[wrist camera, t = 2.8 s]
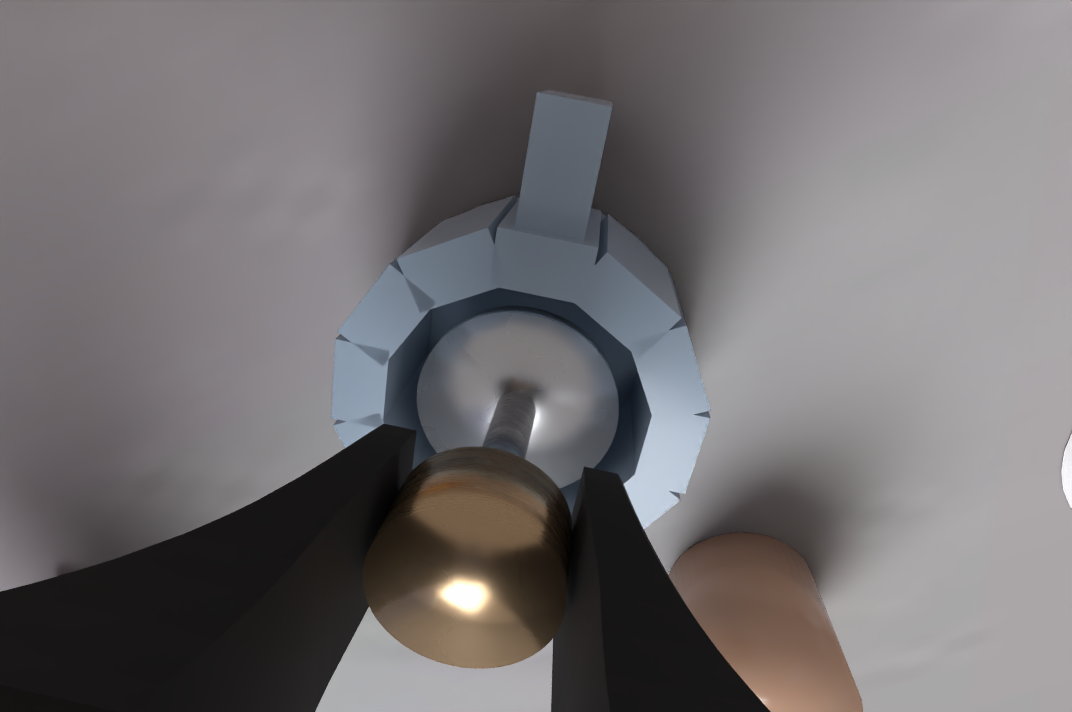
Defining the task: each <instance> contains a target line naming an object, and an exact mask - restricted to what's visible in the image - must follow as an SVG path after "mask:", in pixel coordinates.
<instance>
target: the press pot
mask: <svg viewBox="0 0 1072 712" xmlns="http://www.w3.org/2000/svg"><path fill="white" fill-rule="evenodd" d="M612 108H613V103H612V101H607V100H602V99H596V98H591V97H586V96H581V95H576V94H571V93H566V92H561V91H556V90H546V91H540V92H537V94H536V100H535V106H534V113H533V119H532V125H531V131H530V137H529V143H528V149H527V155H526V161H525V167H524V173H523V179H522V185H521V191H520V197H516V196H515V195H513V196H510V197H508V198H505V199H501V200H497V201H494V202H490V203H487V204H483V205H480V206H478V207H476V208H473V209H471V210H469V211H466V212H464V213H462V214H460V215H457V216H454V217H451V218H448V219H445V220H443V221H441V222H440V223H439V224H438V225H436V226H435V227H433V228H432V229H431V230H430V231H429V232H427V233H426V234H425V235H424V236H423V237H421V238H420V239H419V240H418V241H417V242H415V243H414V244H413V245H412V246H411V247H409V248H408V249H407V250H406V251H405V252H403V253H402V254H401V255H400V256H399V257H397V258H396V259H395V260H394V261H393V262H391V263H390V264H389V265H388V267H387V268H386V269H385V271H384V272H383V273H382V274H381V276H380V277H379V278H378V280H377V281H376V282H375V284H374V285H373V286H372V288H371V289H370V290H369V291H368V293H367V294H366V295H365V297H364V298H363V299H362V301H361V302H360V303H359V305H358V306H357V307H356V308H355V310H354V311H353V312H352V314H351V315H350V316H349V318H348V319H347V320H346V322H345V323H344V324H343V325H342V327H341V328H340V329H339V331H338V332H339V333H340V335H339V336H338V337H337V338H336V339H335V351H334V371H333V392H332V412H331V418H332V419H337V421H336V422H335V424H334V425H333V427H334V428H335V430H336V432H337V434H338V436H339V438H340V440H341V442H342V443H343V445H344V447H345V448H346V447H348V446H349V445H351V444H352V443H354V442H355V441H357V440H359V439H360V438H362V437H363V436H365V435H366V434H368V433H369V432H371V431H372V430H374V429H376V428H377V427H379V426H380V425H382V424H389V425H393V426H398V427H403V428H407V429H412V430H417V432H416V441H415V450H414V459H413V467H412V470H413V469H414V468H415V467H417V466H418V465H419V464H420V463H421V462H423V461H424V460H426V459H427V458H429V457H431V456H433V455H435V454H437V452H436V451H435V450H434V448H433V447H432V445H431V444H430V442H429V440H428V439H427V437H426V435H425V433H424V430H423V428H422V425H421V422H420V418H419V414H418V409H417V386H418V381H419V376H420V373H421V371H422V368H423V365H424V363H425V361H426V360H427V358H428V356H429V354H430V353H431V351H432V350H433V348H434V347H435V345H436V344H437V343H438V341H439V340H440V339H441V337H442V336H443V335H444V334H445V333H446V332H447V331H448V330H449V329H450V328H452V327H453V326H454V325H456V324H457V323H458V322H460V321H461V320H463V319H465V318H467V317H468V316H470V315H473V314H475V313H478V312H480V311H483V310H487V309H491V308H495V307H504V306H525V307H532V308H538V309H541V310H545V311H549V312H552V313H554V314H556V315H559V316H561V317H563V318H565V319H567V320H569V321H571V322H572V323H574V324H575V325H577V326H578V327H580V328H581V329H582V330H584V331H585V332H586V333H587V334H588V335H589V336H590V337H591V338H592V339H593V340H594V341H595V342H596V343H597V344H598V346H599V347H600V348H601V349H602V351H603V352H604V354H605V355H606V357H607V359H608V361H609V362H610V365H611V367H612V369H613V372H614V375H615V378H616V382H617V387H618V396H619V415H618V424H617V429H616V433H615V436H614V438H613V441H612V443H611V445H610V447H609V449H608V451H607V453H606V454H605V455H604V457H603V458H602V459H601V461H600V462H599V463H598V464H597V465H596V466H595V467H594V469H598V470H603V471H608V472H612V473H617V474H618V475H619V476H620V478H621V479H622V481H623V484H624V486H625V489H626V491H627V494H628V496H629V499H630V501H631V503H632V505H633V508H634V510H635V512H636V514H637V516H638V519H639V521H640V523H641V525H642V527H643V529H645V528H646V527H648V526H649V525H650V524H651V523H653V522H654V521H655V520H656V519H658V518H659V517H660V516H661V515H663V514H664V513H665V512H666V511H667V510H669V509H670V508H671V507H672V506H674V505H675V504H676V503H677V502H679V501H680V495H679V493H682V494H685V492H686V489H687V486H688V483H689V480H690V477H691V474H692V471H693V468H694V465H695V462H696V459H697V456H698V453H699V451H700V448H701V445H702V442H703V439H704V436H705V433H706V430H707V427H708V424H709V421H710V415H709V411H710V406H709V403H708V399H707V396H706V392H705V389H704V385H703V382H702V378H701V375H700V371H699V368H698V364H697V360H696V357H695V353H694V350H693V346H692V343H691V339H690V336H689V332H688V329H687V325H686V322H685V319H684V316H683V312H682V309H681V306H680V302H679V299H678V296H677V292H676V289H675V286H674V283H673V279H672V276H671V273H668V269H667V266H666V265H665V264H663V263H662V262H661V261H660V260H659V259H658V258H657V257H656V256H655V255H654V254H653V253H652V251H651V250H650V249H649V248H648V247H647V246H646V245H645V244H644V243H643V242H642V241H641V240H640V239H639V238H638V237H637V236H636V235H634V234H633V233H632V232H631V231H629V230H628V229H627V228H626V227H624V226H623V225H622V224H620V223H619V222H617V221H616V220H615V219H614V218H612V217H611V216H610V215H609V214H608V215H605V214H603V213H601V211H602V210H597V209H592V208H591V206H592V201H593V196H594V192H595V187H596V182H597V178H598V173H599V168H600V164H601V159H602V154H603V150H604V145H605V140H606V136H607V131H608V126H609V122H610V117H611V112H612ZM580 480H581V478H580V479H579V480H577V481H575V482H573V483H572V484H569V485H567V486H565V487H562V488H559V489H560V491H561V492H562V494H563V495H564V497H565V499H566V501H567V503H568V506H569V509H570V513H571V516H572V512H573V508H574V504H575V500H576V496H577V492H578V488H579V484H580Z"/></svg>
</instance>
